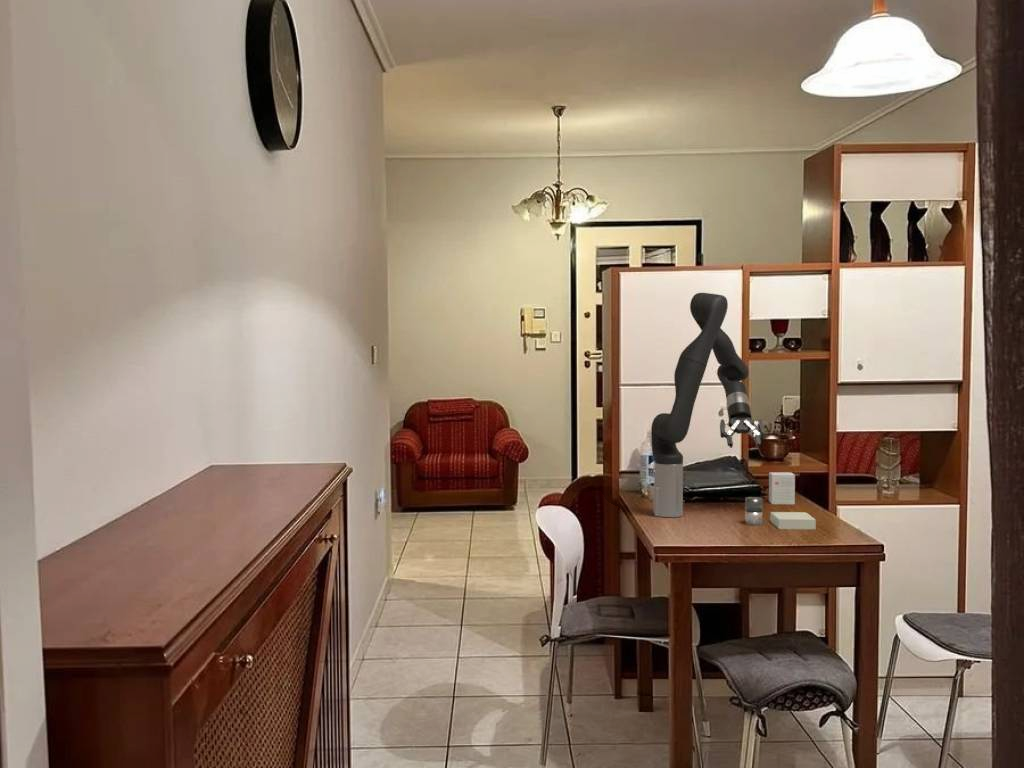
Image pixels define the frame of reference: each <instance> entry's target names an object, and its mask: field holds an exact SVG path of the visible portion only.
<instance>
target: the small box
mask: <svg viewBox="0 0 1024 768" xmlns="http://www.w3.org/2000/svg"><path fill="white" fill-rule="evenodd" d="M795 490H796V475H795V474H794V473H792V471H791V472H787V471H786V472H783V471H782V472H778V471H776V472H774V471H773V472H768V502H769V503H770V504H771V505H787V506H789V505H793V506H794V505H796V498H795V497H796V491H795Z"/></svg>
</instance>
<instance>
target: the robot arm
mask: <svg viewBox="0 0 1024 768" xmlns="http://www.w3.org/2000/svg"><path fill="white" fill-rule="evenodd" d="M689 304H690V305H689V309H690V313H691V315H692V317H693V320H694V321H695V322H696V324H697V325H698V327H699V328H700V330H701V331H700V332H699V334H698V335H697V337H696V338H695V339H693V341H691V342H690V343H689V344H688V345H687V346H686V347H685V348H684V349H683V350H682V352H681V353H680V355H679V358H678V361H677V363H676V367H675V370H674V376H673V378H674V387H675V388H674V389H675V390H674V391H675V397H674V402H673V405H672V408H671V411H670V413H668V412H667V413H666V412H665V413H663V412H661V413H658V414H657V415H656V416H655V417H654V418H653V420H652V423H651V431H650V432H651V436H650V437H651V438H650V439H651V453H652V454H653V458H654V467H653V469H654V471H653V473H654V475H653V476H654V478H653V479H654V481H653V482H654V483H653V485H652V486H653V488H652V489H653V490H652V491H653V493H652V495H653V498H652V499H653V500H652V501H653V504H652V505H653V506H652V508H653V509H652V510H653V511H652V513H653V514H654V516H655V517H660V518H679V517H682V516H683V515H684V514H683V510H684V509H683V505H684V504H683V502H684V500H683V499H684V498H683V497H684V496H683V495H684V490H683V489H684V488H683V487H684V456H683V454H682V453H681V452H680V451H679V449H678V448H677V444H679V443H681V442H682V441H684V439H685V438H686V437H687V435H688V432H689V429H690V426H691V421H692V416H693V411H694V406H695V402H696V399H697V395H698V394H699V390H700V387H701V383H702V382H703V381H702V380H703V378H704V376H705V372H706V369H707V367H708V366H707V365H708V362H709V359H710V356H711V353H712V351H713V354H714V357H715V360H716V362H717V363H718V364H719V367H718V368H717V371H716V375H717V378H718V380H719V381H720V383H721V385H722V386H723V390H724V393H725V399H726V411H727V417H728V420H727V421H726V420H725V419H720V422H719V433H720V434H719V435H720V438H722V439H723V438H724V439H726V443H727V444H726V445H727V446H728V447H729V448H730V449H731V448H733V447H734V442H733V436H734V435H735V434H737V435H738V434H745V435H746V434H748V435H749V436H751V437H753V438H754V443H755V448H756V449H759V448H760V447H761V444H762V440H761V439H764V438H765V434H766V430H765V427H764V422H763V419H758V421H757V420H755V421H754V420H753V418H752V417H753V416H752V412H751V411H752V410H751V406H750V401H749V398H748V394H747V387H746V385H745V383H744V382H743V381H745V380H746V379H747V378H748V376H749V369H748V368H749V367H748V366H747V364H746V363H745V361H743V359H742V358H741V357H740V356H739V354H738V353H737V351H736V348H735V346H734V344H733V341H732V339H731V337H730V336H729V335H728V334H727V333H726V332H725V331H724V330H723V329H722V325H723V323H724V322H725V321H724V320H725V318H726V315H727V311H728V309H729V308H728V305H729V304H728V299H727V297H726V296H725V295H722V294H716V293H710V292H708V293H707V292H697V293H695V294H694V295H693V296H692V298H691V300H690V303H689ZM727 426H728V427H729V428H730V429H729V430H728V431H726V427H727Z"/></svg>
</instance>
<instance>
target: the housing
mask: <svg viewBox="0 0 1024 768" xmlns="http://www.w3.org/2000/svg"><path fill="white" fill-rule="evenodd" d="M763 499H764V498H762V497H758V496H748V497H747V496H746V497H745V499H744V501H745V503H744V506H745V507H744V524H745V525H749V526H762V525H763V504H764V503H763Z"/></svg>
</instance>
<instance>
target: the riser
mask: <svg viewBox="0 0 1024 768" xmlns="http://www.w3.org/2000/svg"><path fill="white" fill-rule="evenodd" d="M769 517H770V519H769V520H770V523H771V524H773V525H774V526H775V528H777V529H778V530H816V528H817V526H816V525H817V523H816V522H817V521H816V520H817V519H815V518H814V517H813V516H811V515H810V514H809V513H807V512H804V511H803V512H800V511H799V512H798V511H797V512H795V511H787V512H786V511H770V516H769Z"/></svg>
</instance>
